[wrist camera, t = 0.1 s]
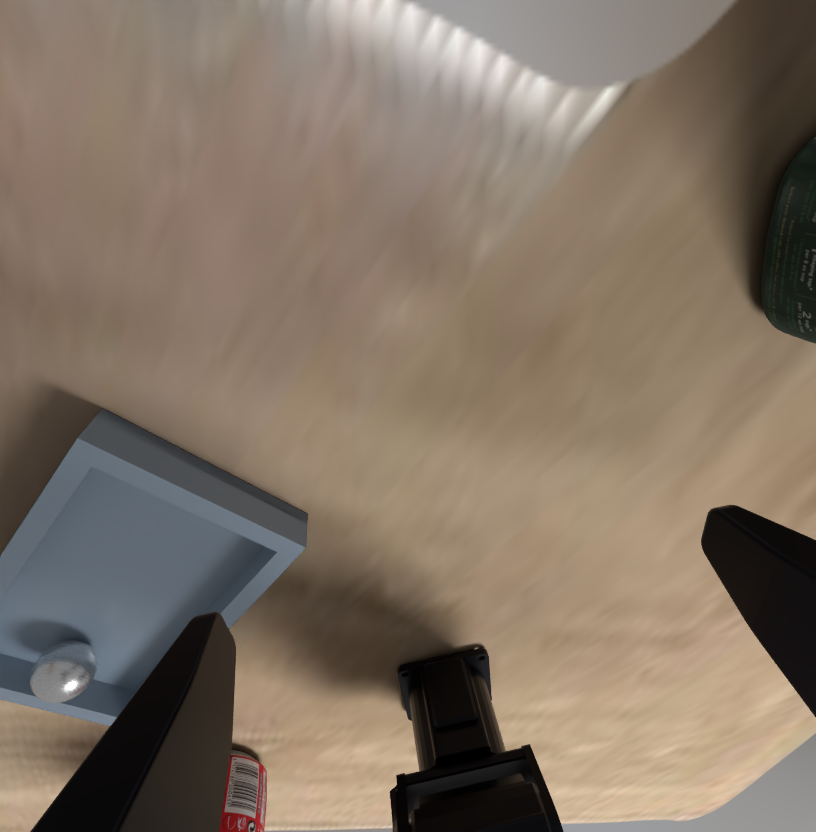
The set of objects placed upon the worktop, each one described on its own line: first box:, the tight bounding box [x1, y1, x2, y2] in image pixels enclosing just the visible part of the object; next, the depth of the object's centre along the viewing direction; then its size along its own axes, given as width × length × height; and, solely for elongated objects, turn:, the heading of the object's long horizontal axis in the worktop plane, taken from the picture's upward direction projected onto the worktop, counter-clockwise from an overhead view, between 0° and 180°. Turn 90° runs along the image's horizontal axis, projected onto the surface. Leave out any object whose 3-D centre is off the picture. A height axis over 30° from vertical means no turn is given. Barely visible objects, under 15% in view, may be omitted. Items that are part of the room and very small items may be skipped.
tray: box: [0, 408, 308, 726], centre depth 25 cm, size 11×18×2 cm, turn 139°
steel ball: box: [30, 640, 98, 703], centre depth 26 cm, size 3×3×3 cm
